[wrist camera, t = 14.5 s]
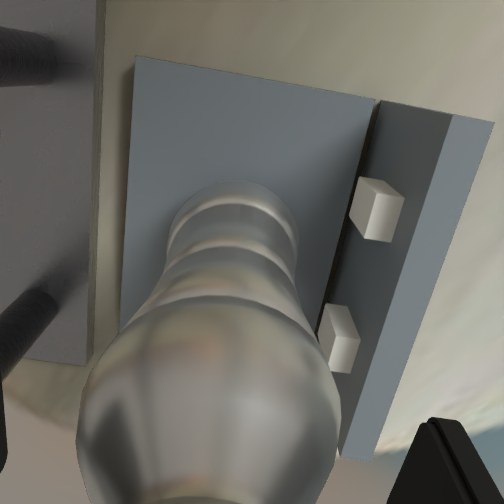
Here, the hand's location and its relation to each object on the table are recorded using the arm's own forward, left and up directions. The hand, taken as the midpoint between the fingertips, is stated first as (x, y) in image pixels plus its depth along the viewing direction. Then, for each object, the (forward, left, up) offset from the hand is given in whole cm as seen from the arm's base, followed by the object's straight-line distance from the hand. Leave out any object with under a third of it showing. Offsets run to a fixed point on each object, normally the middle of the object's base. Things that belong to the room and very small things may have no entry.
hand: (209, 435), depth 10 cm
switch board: (+1, +1, -17) cm, 17 cm away
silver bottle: (+1, 0, -16) cm, 16 cm away
